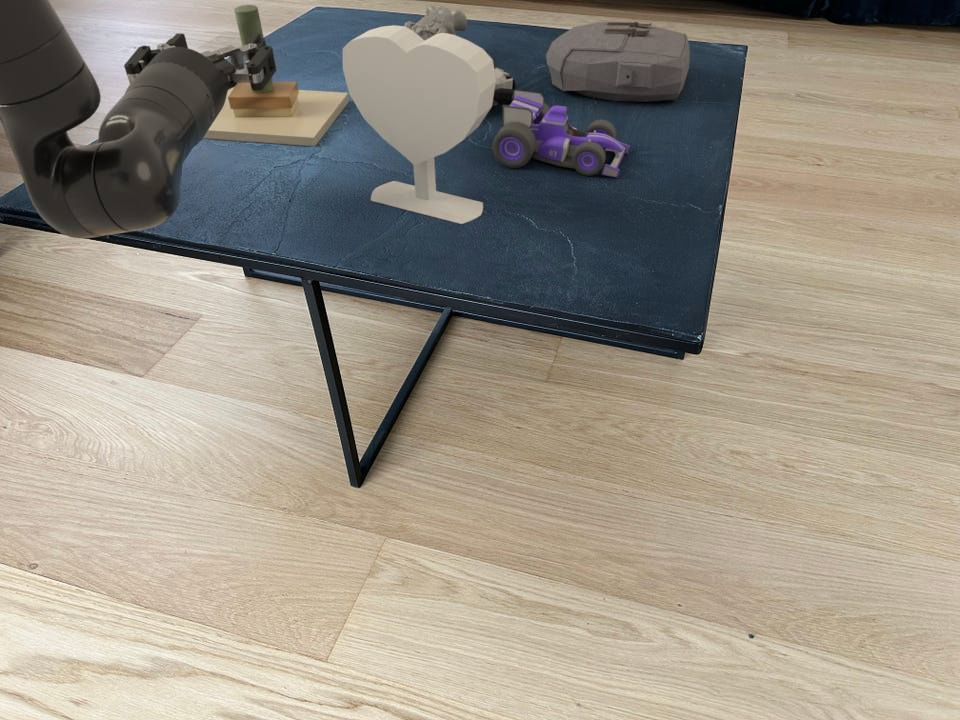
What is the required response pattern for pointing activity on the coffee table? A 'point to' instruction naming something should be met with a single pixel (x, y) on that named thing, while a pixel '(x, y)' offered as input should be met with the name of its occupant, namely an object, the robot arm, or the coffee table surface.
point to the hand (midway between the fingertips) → (221, 42)
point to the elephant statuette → (438, 22)
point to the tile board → (283, 121)
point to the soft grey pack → (620, 61)
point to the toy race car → (554, 138)
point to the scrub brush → (275, 95)
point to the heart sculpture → (420, 107)
